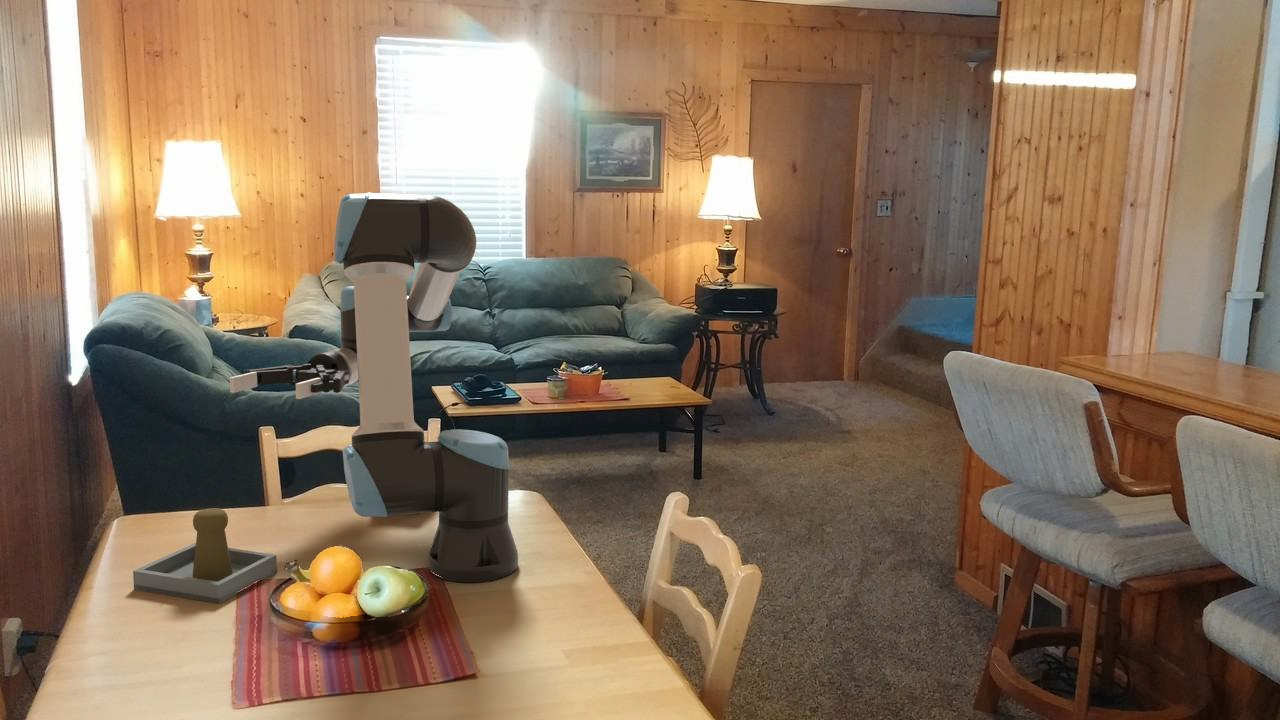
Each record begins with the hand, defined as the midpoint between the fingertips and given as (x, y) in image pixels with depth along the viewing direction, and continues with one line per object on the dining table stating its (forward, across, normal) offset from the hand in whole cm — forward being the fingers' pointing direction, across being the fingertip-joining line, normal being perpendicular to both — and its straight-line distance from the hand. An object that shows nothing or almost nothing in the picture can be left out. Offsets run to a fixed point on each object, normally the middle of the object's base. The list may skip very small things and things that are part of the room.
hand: (264, 388), depth 179 cm
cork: (+19, -4, -27) cm, 34 cm away
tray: (+20, -3, -28) cm, 34 cm away
